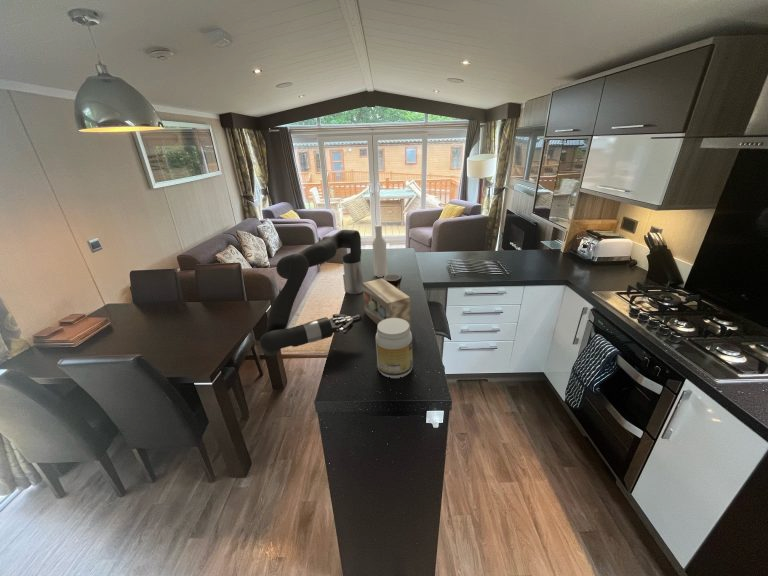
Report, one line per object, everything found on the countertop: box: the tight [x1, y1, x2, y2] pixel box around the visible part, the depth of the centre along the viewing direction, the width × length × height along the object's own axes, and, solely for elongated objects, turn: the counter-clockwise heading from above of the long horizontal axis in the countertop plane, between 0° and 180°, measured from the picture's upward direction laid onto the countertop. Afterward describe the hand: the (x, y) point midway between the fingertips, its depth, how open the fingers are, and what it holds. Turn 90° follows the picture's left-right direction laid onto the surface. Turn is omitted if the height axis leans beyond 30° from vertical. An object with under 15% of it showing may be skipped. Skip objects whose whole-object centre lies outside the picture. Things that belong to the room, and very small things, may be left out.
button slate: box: [379, 307, 386, 318], centre depth 125 cm, size 2×4×4 cm, turn 28°
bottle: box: [372, 224, 388, 278], centre depth 181 cm, size 8×8×30 cm
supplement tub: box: [375, 318, 414, 379], centre depth 103 cm, size 12×12×17 cm
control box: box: [362, 277, 411, 329], centre depth 134 cm, size 10×24×15 cm, turn 27°
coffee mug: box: [383, 273, 403, 291], centre depth 159 cm, size 12×9×10 cm
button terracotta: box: [363, 294, 370, 304], centre depth 137 cm, size 2×4×4 cm, turn 27°
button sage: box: [368, 300, 377, 311], centre depth 131 cm, size 2×4×4 cm, turn 28°
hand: (360, 317), depth 121 cm, fingers closed
